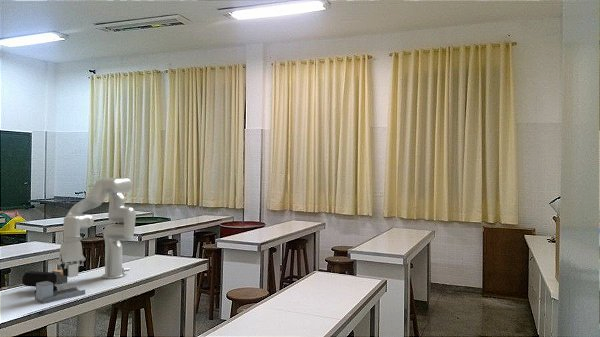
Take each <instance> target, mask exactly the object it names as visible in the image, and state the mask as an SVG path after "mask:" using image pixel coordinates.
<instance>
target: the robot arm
mask: <svg viewBox="0 0 600 337" xmlns="http://www.w3.org/2000/svg"><path fill="white" fill-rule="evenodd" d="M132 187H133V182H132V180H131V179H130V178H127V177H107V178H100V179H98V180H96V181H95V183H94V184H93V186H92V188H91V190H90V191H89V193H88V194H87V196H86V197H85V198H83V199H81V200H80V201H78V202H76V203H75V204H74V205H73V206H71V208H70V209H69V210H68V212H67V214H66V215H65V216H64V218H63V229H62V230H63V236H62V241H63V242H61V244H60V248H59V255H58V259H57V260H56V263H55V264H56V265H58V266H60V267H61V269H62V270H63V275H64V276H68V269H67V265H68V263H77V264H78V273H79V272H80V266H81V264H82V263H84V262H85V261H86V257H85V256H84V254H83V246H82V242H81V240H82V239H83V236H82V235H81V234H80V233H81V229H89V228H92V226H93V225H94V223H95V220H94V217H93V216H92V215H91V214H83V213H84V212H86V211H89V210H93V209H95V208H97V207H100V206H101V205H102V203H103V202H104V200H105V198H106V197H107V195H108V197H109V206H108V214H107V216H108V221H110V222H112V223H111V224H108V225H106V226H105V227H104V228H103V239H104V245H105V247H104V252H105V253H104V273H103V274H102V275H101V278H103V279H106V280H107V279H108V280H110V279H111V280H112V279H113V280H114V279H119V278H123V277H124V276H126V275H125V272H129V271H130V267H126V268H125V267H123V244H122V243H121V241H131V240H132V239H133V238H134V235H135V228H136V218H137V217H136V215H137V214H136V213H137V212H136V211H135V209H134V208H133V207H132V206H131V207H130V206H125V203H126V202H125V201H126V198H125V196H124V194H125V193H127V192H130V191H131V190H132ZM123 193H124V194H123ZM113 223H116V224H113ZM117 223H123V224H117Z"/></svg>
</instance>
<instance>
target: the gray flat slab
mask: <svg viewBox="0 0 600 337" xmlns="http://www.w3.org/2000/svg"><path fill="white" fill-rule="evenodd" d="M83 295H86V289H82V290H81V289H78V286H72V287H67V288H63V289H58V290H57V291H53V296H52V297H48V298H43V299H42V301H41V300H39V299H37V298H36V294H35V295H34V300H35V301H37V302H40V303H41V304H43V305H44V304H48V303H51V302H56V301H60V300H66V299H70V298H73V297H79V296H83Z"/></svg>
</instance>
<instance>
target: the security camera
mask: <svg viewBox="0 0 600 337" xmlns="http://www.w3.org/2000/svg"><path fill="white" fill-rule="evenodd" d="M44 281H49V282H51V283H53V291H57V290H59V289H58V287H57V284H55V282H57V275H55V274H54V273H53V272H52V271H51V272H49V271H33V270H29V271H26V272H24V274H23V275H22V285H24V286H25V287H34V288H36V283H39V282H44ZM34 293H36V289H34Z"/></svg>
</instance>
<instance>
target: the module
mask: <svg viewBox="0 0 600 337" xmlns="http://www.w3.org/2000/svg"><path fill="white" fill-rule="evenodd" d="M67 269H68V276H66V277H67V278H74V277H78V276H79V272H78V264H77V263H75V262H68V265H67Z"/></svg>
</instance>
